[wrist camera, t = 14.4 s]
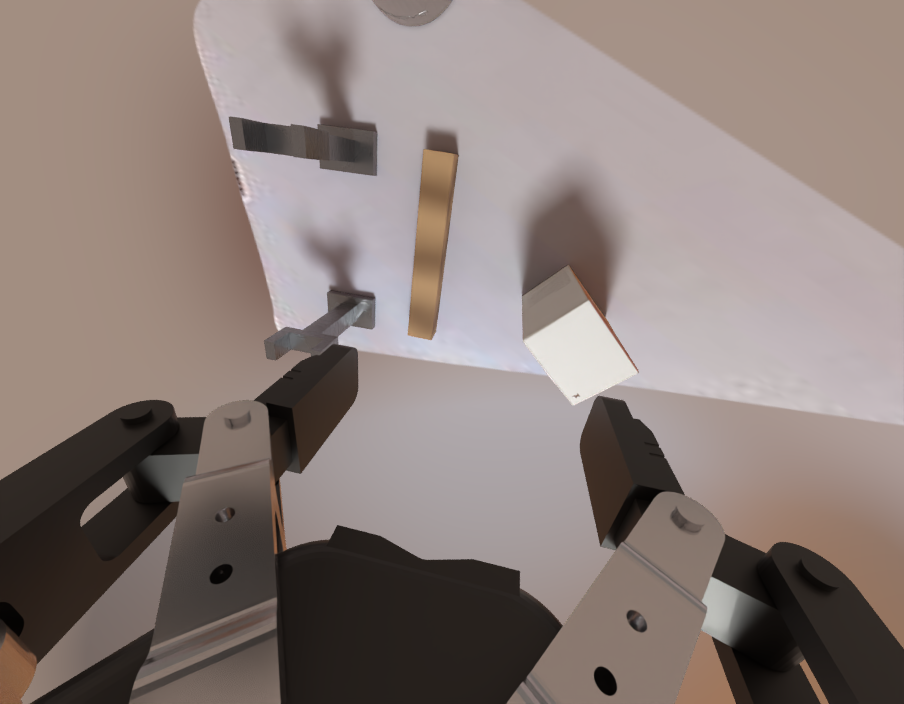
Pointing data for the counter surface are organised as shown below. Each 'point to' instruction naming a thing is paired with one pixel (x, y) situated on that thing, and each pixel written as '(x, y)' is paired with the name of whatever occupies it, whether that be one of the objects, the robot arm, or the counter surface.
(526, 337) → the small box
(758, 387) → the counter surface
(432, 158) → the tan wooden bar
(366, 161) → the grey support rack
